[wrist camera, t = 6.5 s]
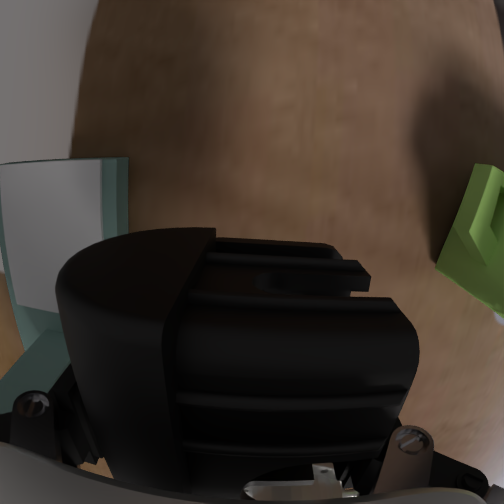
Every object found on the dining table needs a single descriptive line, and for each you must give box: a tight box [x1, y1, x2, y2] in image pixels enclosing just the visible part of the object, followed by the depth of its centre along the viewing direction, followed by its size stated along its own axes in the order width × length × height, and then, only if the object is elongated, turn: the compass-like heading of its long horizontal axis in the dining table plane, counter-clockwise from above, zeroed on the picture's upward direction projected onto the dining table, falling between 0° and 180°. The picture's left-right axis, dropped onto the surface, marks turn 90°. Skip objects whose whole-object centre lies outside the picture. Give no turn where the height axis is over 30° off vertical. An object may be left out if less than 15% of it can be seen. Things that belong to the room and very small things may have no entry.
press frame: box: [0, 157, 129, 414], centre depth 14 cm, size 11×17×16 cm, turn 175°
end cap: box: [55, 227, 420, 500], centre depth 8 cm, size 10×7×7 cm
